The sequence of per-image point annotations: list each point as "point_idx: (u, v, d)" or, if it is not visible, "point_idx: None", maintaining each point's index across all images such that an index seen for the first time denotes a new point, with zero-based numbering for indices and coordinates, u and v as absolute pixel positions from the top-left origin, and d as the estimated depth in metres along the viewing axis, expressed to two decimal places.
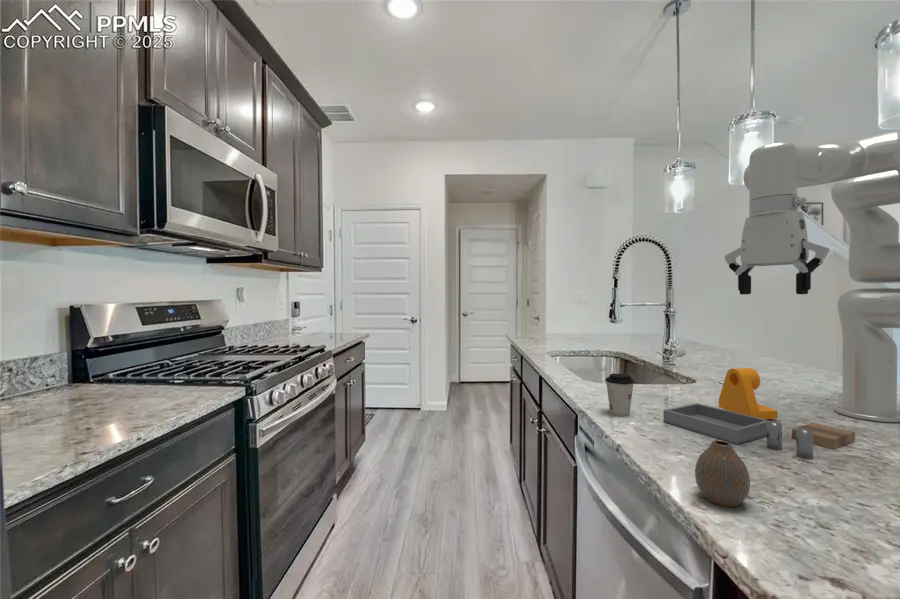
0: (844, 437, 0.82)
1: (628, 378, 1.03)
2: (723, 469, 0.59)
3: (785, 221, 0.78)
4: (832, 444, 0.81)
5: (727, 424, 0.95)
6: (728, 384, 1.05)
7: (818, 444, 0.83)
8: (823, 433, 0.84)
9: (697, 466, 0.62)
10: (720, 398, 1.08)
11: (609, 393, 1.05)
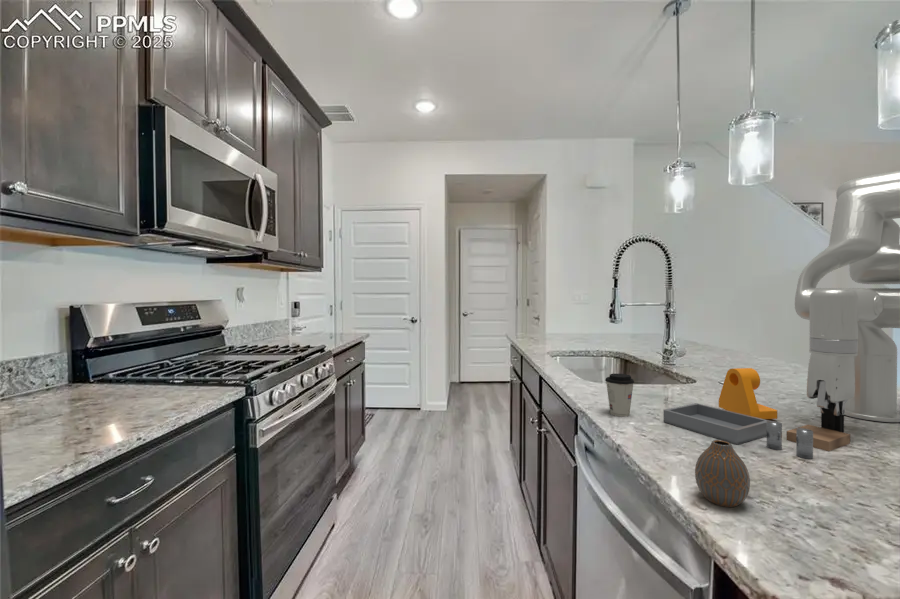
0: (839, 439, 0.82)
1: (628, 378, 1.03)
2: (723, 469, 0.59)
3: (853, 362, 0.87)
4: (827, 446, 0.80)
5: (727, 424, 0.95)
6: (728, 384, 1.05)
7: (813, 446, 0.82)
8: (818, 435, 0.83)
9: (697, 466, 0.62)
10: (720, 398, 1.08)
11: (609, 393, 1.05)
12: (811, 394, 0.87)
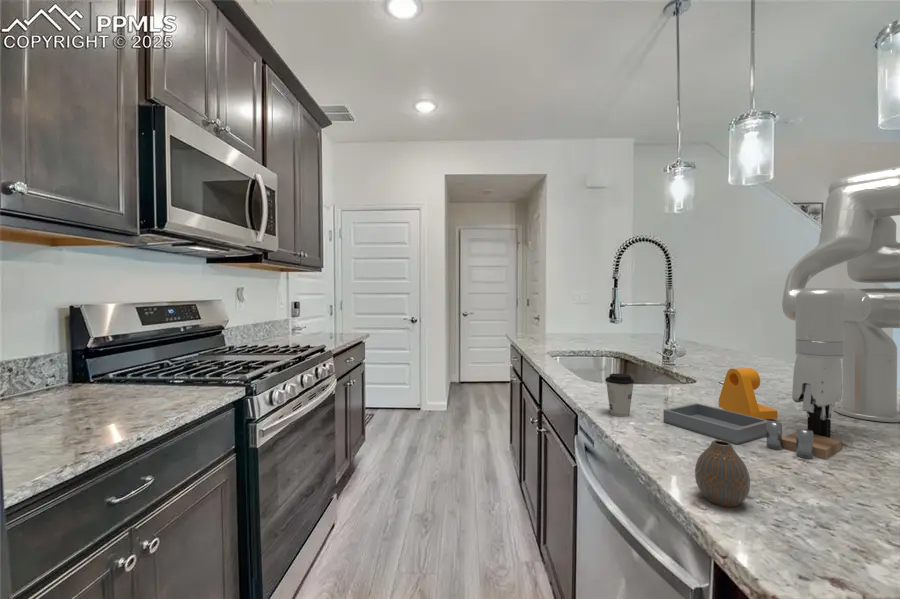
0: (834, 447, 0.78)
1: (628, 378, 1.03)
2: (723, 469, 0.59)
3: (840, 364, 0.84)
4: (824, 455, 0.76)
5: (727, 424, 0.95)
6: (728, 384, 1.05)
7: None
8: None
9: (697, 466, 0.62)
10: (720, 398, 1.08)
11: (609, 393, 1.05)
12: (797, 398, 0.84)
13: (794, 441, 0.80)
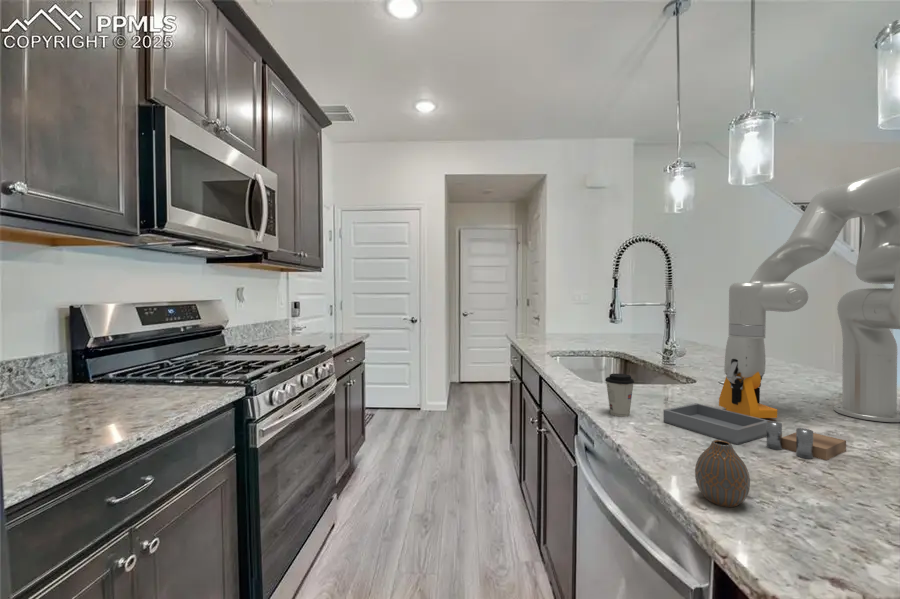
0: (836, 446, 0.78)
1: (628, 378, 1.03)
2: (723, 469, 0.59)
3: (763, 344, 1.02)
4: (824, 454, 0.76)
5: (727, 424, 0.95)
6: (729, 382, 1.05)
7: None
8: (814, 442, 0.79)
9: (697, 466, 0.62)
10: (720, 397, 1.08)
11: (609, 393, 1.05)
12: (727, 371, 1.02)
13: (795, 440, 0.80)
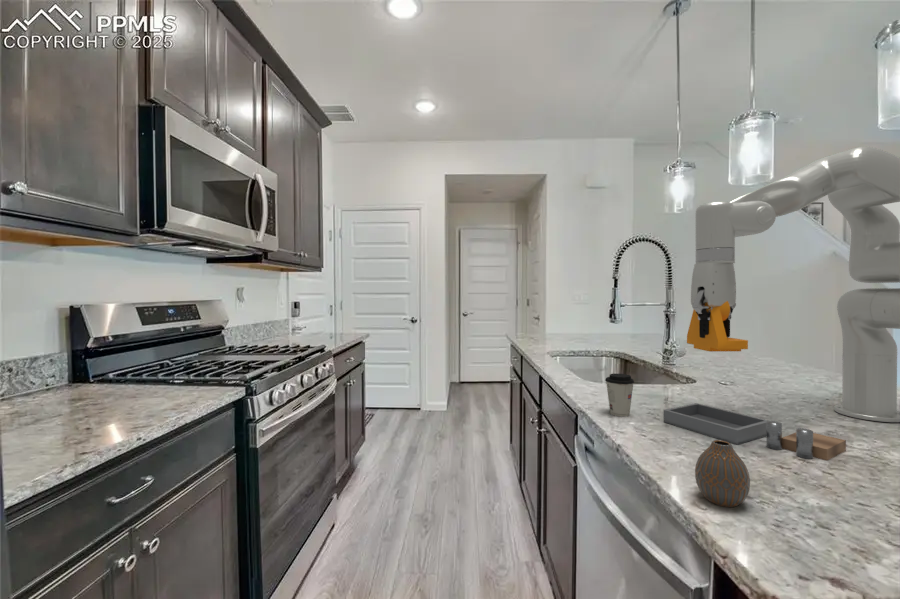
0: (836, 446, 0.78)
1: (628, 378, 1.03)
2: (723, 469, 0.59)
3: (733, 271, 0.93)
4: (825, 454, 0.76)
5: (727, 424, 0.95)
6: (696, 315, 0.95)
7: None
8: (814, 442, 0.79)
9: (697, 466, 0.62)
10: (688, 333, 0.98)
11: (609, 393, 1.05)
12: (693, 301, 0.93)
13: (795, 440, 0.80)
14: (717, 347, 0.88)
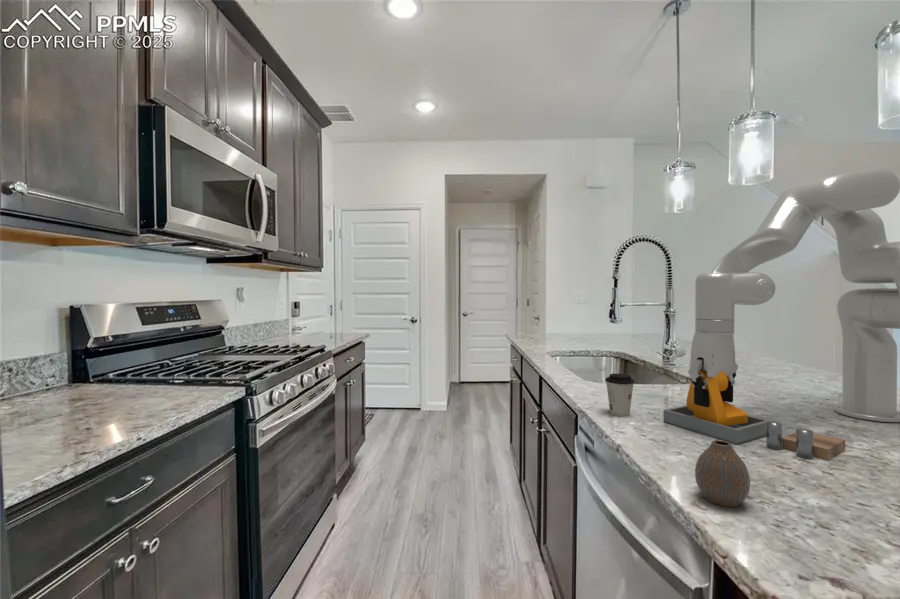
0: (836, 446, 0.78)
1: (628, 378, 1.03)
2: (723, 470, 0.59)
3: (732, 341, 0.93)
4: (826, 454, 0.76)
5: None
6: None
7: None
8: (815, 442, 0.79)
9: (697, 466, 0.62)
10: (688, 399, 0.98)
11: (609, 393, 1.05)
12: None
13: None
14: None
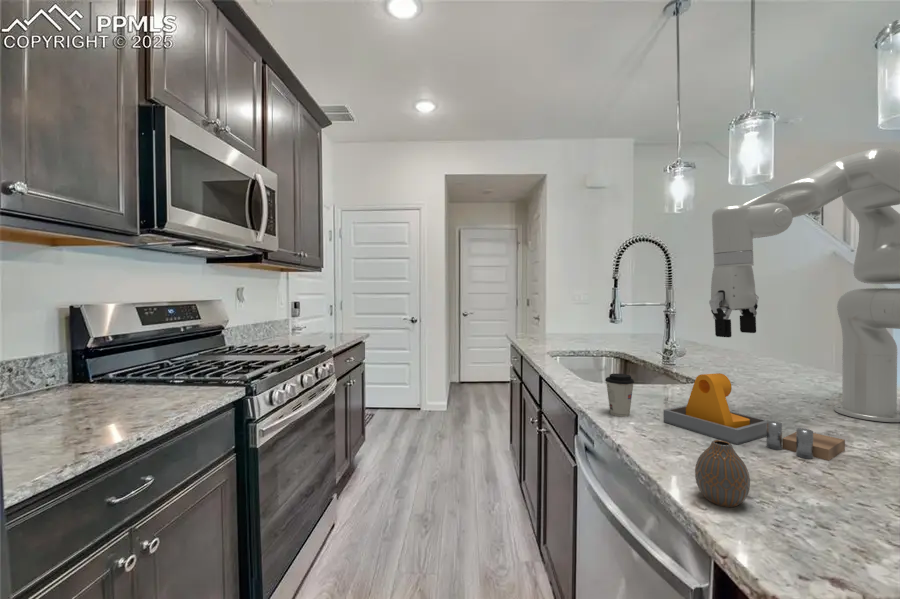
0: (836, 446, 0.78)
1: (628, 378, 1.03)
2: (723, 469, 0.59)
3: (752, 273, 0.93)
4: (827, 454, 0.76)
5: None
6: (697, 391, 0.95)
7: None
8: (815, 442, 0.79)
9: (697, 466, 0.62)
10: (687, 407, 0.98)
11: (609, 393, 1.05)
12: None
13: None
14: None
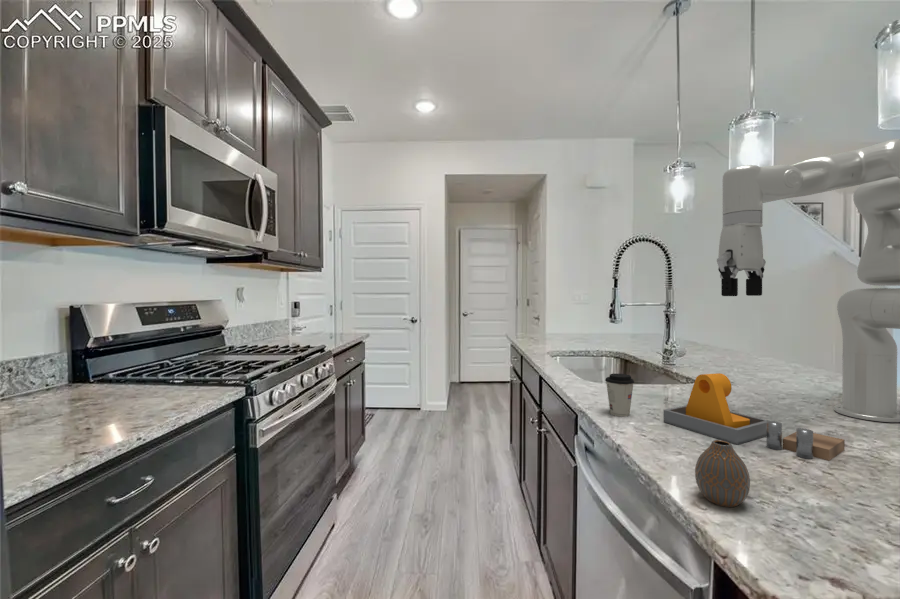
0: (836, 446, 0.78)
1: (628, 378, 1.03)
2: (723, 470, 0.59)
3: (760, 235, 0.94)
4: (827, 454, 0.76)
5: None
6: (697, 391, 0.95)
7: None
8: (815, 442, 0.79)
9: (697, 466, 0.62)
10: (688, 407, 0.98)
11: (609, 393, 1.05)
12: None
13: None
14: None
